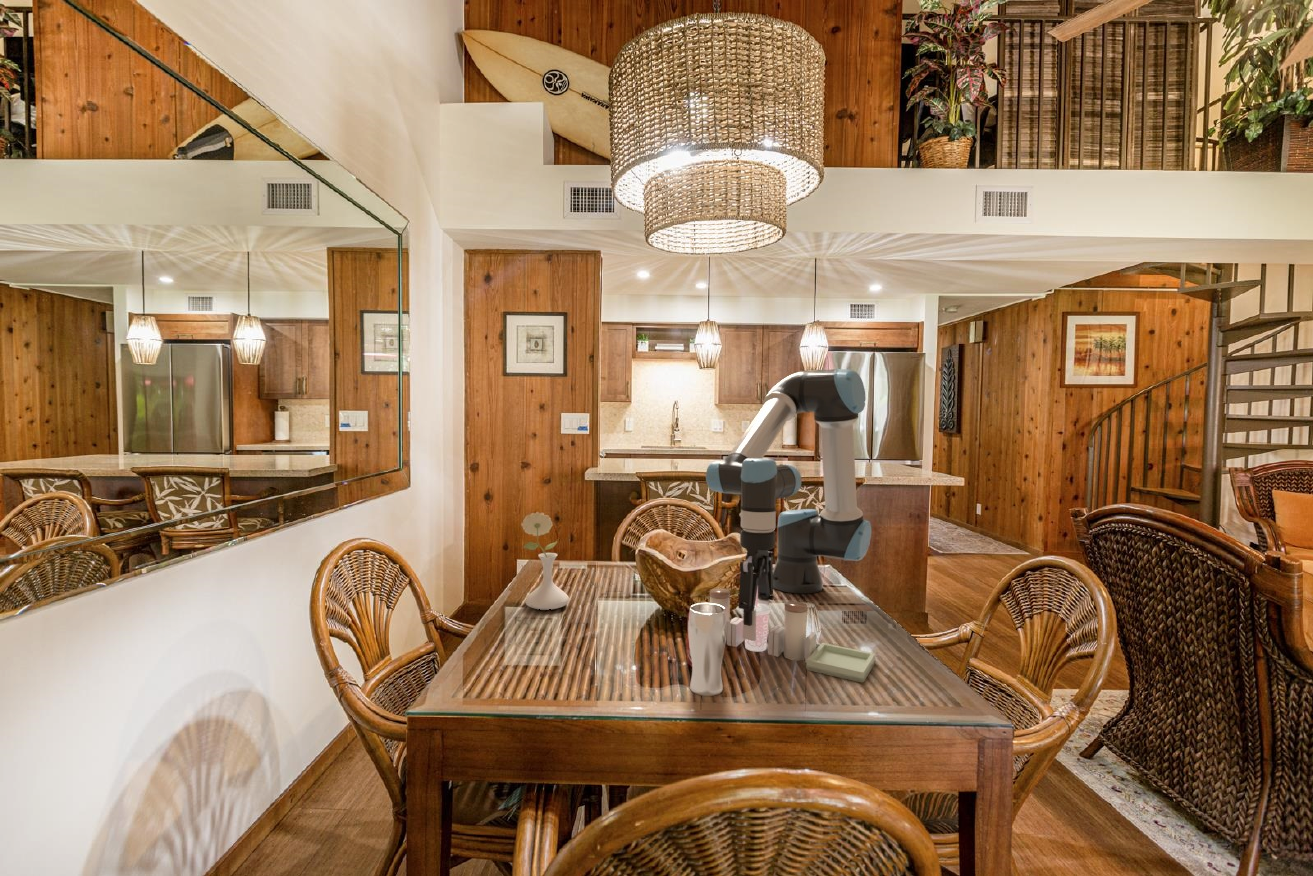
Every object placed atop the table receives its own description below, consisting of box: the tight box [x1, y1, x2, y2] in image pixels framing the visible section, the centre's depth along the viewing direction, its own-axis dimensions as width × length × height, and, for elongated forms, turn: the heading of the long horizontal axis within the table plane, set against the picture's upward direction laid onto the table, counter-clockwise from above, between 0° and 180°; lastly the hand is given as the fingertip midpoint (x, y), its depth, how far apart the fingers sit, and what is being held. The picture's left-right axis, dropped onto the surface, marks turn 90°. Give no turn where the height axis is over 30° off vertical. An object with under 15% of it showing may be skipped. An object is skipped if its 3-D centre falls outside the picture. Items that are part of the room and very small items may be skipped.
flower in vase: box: [520, 511, 570, 611], centre depth 157 cm, size 13×11×25 cm
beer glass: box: [688, 602, 727, 697], centre depth 110 cm, size 7×7×15 cm
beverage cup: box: [741, 587, 772, 652], centre depth 131 cm, size 6×6×14 cm
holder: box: [726, 617, 821, 664], centre depth 133 cm, size 8×26×5 cm, turn 59°
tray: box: [805, 642, 876, 684], centre depth 121 cm, size 11×11×2 cm
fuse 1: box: [709, 587, 731, 644], centre depth 135 cm, size 5×5×11 cm
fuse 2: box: [783, 600, 808, 661], centre depth 126 cm, size 5×5×11 cm
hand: (755, 633), depth 131 cm, fingers open, 7 cm apart
